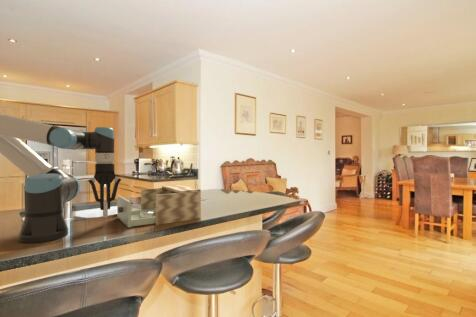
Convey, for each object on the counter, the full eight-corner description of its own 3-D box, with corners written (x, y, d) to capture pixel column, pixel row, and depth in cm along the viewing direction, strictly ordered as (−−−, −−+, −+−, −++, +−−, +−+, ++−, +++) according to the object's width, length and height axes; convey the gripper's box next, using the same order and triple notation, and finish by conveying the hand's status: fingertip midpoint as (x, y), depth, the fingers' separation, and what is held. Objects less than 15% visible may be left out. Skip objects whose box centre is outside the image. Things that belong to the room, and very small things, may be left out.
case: (156, 224, 119) (156, 192, 119) (141, 214, 140) (140, 187, 140) (200, 218, 131) (200, 189, 131) (180, 210, 152) (180, 184, 152)
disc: (142, 219, 124) (142, 214, 124) (137, 216, 130) (137, 211, 130) (159, 217, 128) (159, 212, 128) (154, 214, 135) (154, 209, 135)
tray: (124, 228, 113) (123, 202, 112) (113, 217, 131) (113, 195, 131) (176, 220, 125) (176, 197, 125) (160, 212, 144) (160, 192, 144)
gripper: (88, 163, 112) (89, 220, 112) (122, 162, 119) (123, 216, 119) (86, 163, 118) (87, 217, 118) (119, 162, 125) (119, 213, 126)
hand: (105, 217), depth 119 cm, fingers closed
